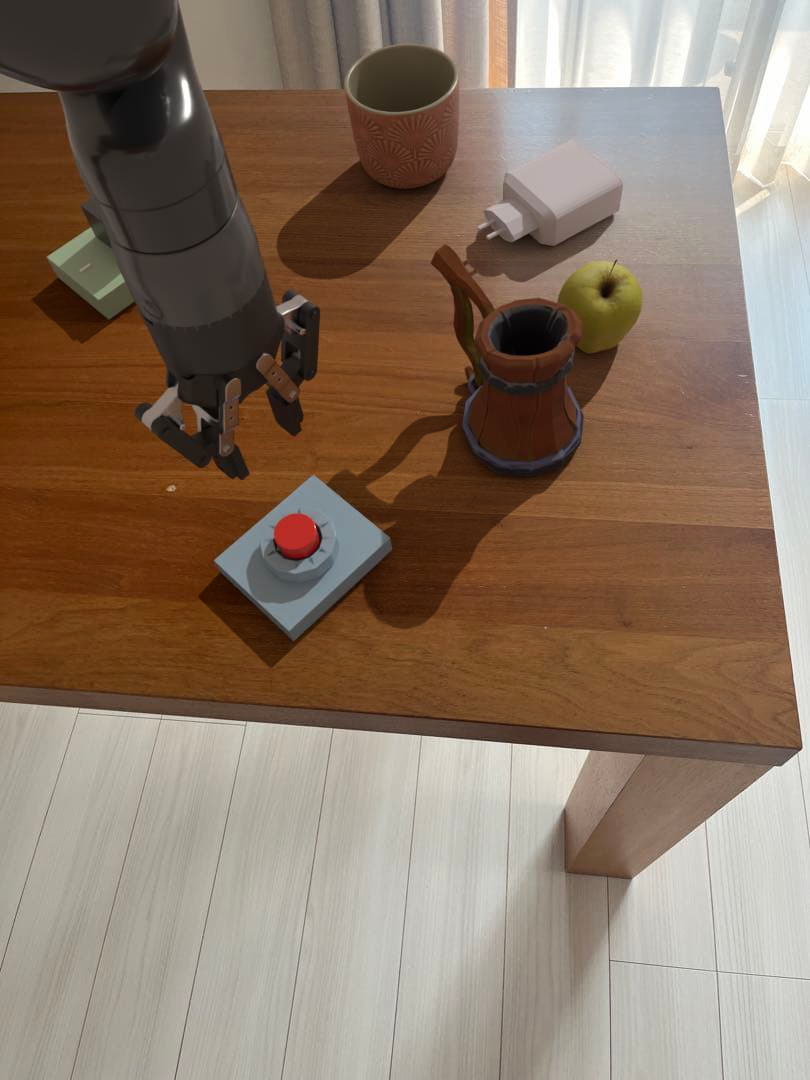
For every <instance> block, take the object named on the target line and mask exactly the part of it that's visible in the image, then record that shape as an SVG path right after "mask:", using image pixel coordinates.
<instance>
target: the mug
mask: <svg viewBox="0 0 810 1080" xmlns="http://www.w3.org/2000/svg"><path fill="white" fill-rule="evenodd" d="M430 264H431V265H432V266H433V267H434V268H435V269H436V270H437V271H438V272H439V273H440V274H441V275H442V277H443V278H444V279H445V280H446V282H447V283H448V284H449V287H450V291H451V294H452V298H453V307H454V311H453V323H452V326H453V330H454V334H455V337H456V340H457V342H458V343H459V346H460V347H461V349H462V350H463V352H464V353H465V355H466V357H467V358H468V360H469V361H470V364H471V366H470V365H467V366H465V367H464V373H465V377H466V380H467V381H468V382H467V389H468V391H469V393H470V394H471V395H470V397H468V398H467V399H466V400H465V403H464V409H463V416H462V417H463V418H462V424H461V425H462V428H461V429H462V434H463V436H464V438H465V440H466V443H467V444H468V446H469V448H470V450H471V452H472V454H473V456H474V457H475V458H476V460H478V461H479V462H480V463H482V464H483V465H485V466H486V467H487V468H489V469H491V470H492V471H494V472H495V473H496V474H497V475H499V476H509V477H519V478H520V477H521V478H532V477H533V478H534V477H536V476H540V475H544V474H547V473H550V472H554V471H557V470H561V469H563V467H564V465H565V464H566V463H567V462H568V461H569V459H571V457H572V456H573V454H574V453H575V452H576V451H577V449H578V448H579V447H580V446H581V444H582V438H583V437H582V436H583V426H584V415H585V414H584V412H583V411H582V409H581V407H580V405H579V403H578V401H577V399H576V397H575V395H574V393H573V392H572V389H571V387H570V386H568V376H567V375H568V373H570V371H571V370H572V369H573V365H574V359H575V358H574V357H575V352H576V351H575V350H576V347H577V344H578V342H579V341H580V339H581V337H582V329H583V323H582V321H581V320H580V318H579V317H578V315H577V314H576V312H575V311H573V310H571V309H569V308H568V305H564V304H560V303H557V301H553V300H549V299H545V298H542V297H535V298H533V297H532V298H525V299H524V298H523V299H517V300H516V299H515V300H514V301H511V302H508V303H505V304H502V305H500V306H498V307H497V308H495V307H494V305H493V304H492V302H491V301H490V299H489V298H488V296H487V295H486V293H485V291H484V290H483V288H481V286H480V285H479V284H478V282H476V281H475V279H474V277H473V276H472V275H471V273H470V272H469V270H468V268H467V267H466V265H465V264H464V262H463V261H462V259H461V257H460V256H459V255H458V254H457V253H456V250H454V249H453V248H452V247H451V246H449V245H447V244H443V245H442V246H440V247H439V248H438V249H436V250H435V251H434V254H433V256H432V259H431V261H430ZM471 301H472V302H471ZM472 303H473V304H474V305H475V306H476V307H477V309H478V311H479V313H480V316H481V318H482V320H481V321H480V322H479V324H478V328H477V330H476V334H475V333H474V330H475V319H474V310H473V305H472ZM474 334H475V335H474Z"/></svg>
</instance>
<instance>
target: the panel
mask: <svg viewBox="0 0 810 1080" xmlns="http://www.w3.org/2000/svg"><path fill="white" fill-rule="evenodd" d="M46 260H47V261H48V263H49V265H50V266H51V268H52V270H53V272H54V274H55V275H56V277H57V278H58V279H59V280H60V281H62V283H64V284H65V285H66V286H68V287H69V288H70V289H71V290H72V291H73V292H75V293H76V294H77V295H78V296H79V297H81V299H83V300H84V301H86V303H88V304H89V305H90V306H92V307H93V308H94V309H95V310H96V311H97V312H99V313H100V314H101V315H102V316H103V317H105V318H106V319H107V320H111V319H112V318H114V317H115V316H117V315H118V314H119V313H120V312H122V311H123V310H125V309H127V308H128V307H129V306H130V305H131V304H133V303H135V301H134V299H133V297H132V295H131V293H130V291H129V289H128V287H127V285H126V283H125V280H124V278H123V276H122V274H121V272H120V270H119V267H118V265H117V262H116V259H115V256H114V253H113V249H111V248H110V247H109V246H108V245H106V244H105V243H104V242H102V241H101V240H100V239H99V238H97V237H96V236H95V234H94V232H93V230H92V228H91V226H90V227H89V228H88V229H86V230H84V231H83V232H81V233H80V234H78V235H77V236H75V237H74V238H72V239H71V240H69V241H68V242H66V243H65V244H63V245H62V246H61V247H59V248H58V249H56V250H55V251H53V252H52V253H50V254H49V255H47V256H46Z"/></svg>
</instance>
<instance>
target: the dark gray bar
mask: <svg viewBox="0 0 810 1080" xmlns="http://www.w3.org/2000/svg"><path fill="white" fill-rule="evenodd" d="M80 208H81V209H82V212H83V214H84V216H85V218H86V220H87V222H88V224H89V226H90V227H91V228H92V230H93V232H94V234H95V236H96V237H97V238H99V239H100V240H101V241H102V242H104V243H105V244H106V245H108V246H109V247H110V248H111V249H112V246H111V242H110V239H109V236H108V234H107V231H106V229H105V227H104V225H103V223H102V221H101V219H100V217H99V214H98V212H97V210H96V208H95V206H94V204H93V202H92V200H91V198H90V199H88V200H86V201H85V202H83V203H82V204H81V205H80Z"/></svg>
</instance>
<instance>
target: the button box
mask: <svg viewBox="0 0 810 1080" xmlns="http://www.w3.org/2000/svg"><path fill="white" fill-rule="evenodd" d="M295 513H300V514H304V515H307V516H308V517H310V518H311V519H312V520H313V521H314V523H315V526H316V529H317V532H318V535H319V544H318V546H317V548H316V550H315V551H314V552H313V553H312V554H311V555H309V556H308V557H306V558H303V559H290V558H288V557H286V556H284V555H283V554H282V553H281V552H280V550H279V548H278V546H277V543H276V541H275V538H274V530H275V527H276V525H277V523H278V522H279V521H280V520H281V519H282V518H283V517H285V516H287V515H290V514H295ZM391 541H392V540H391V537H390V536H389V535H387V534H386V533H385V532H384V531H382V530H381V529H380V528H379V527H377V526H376V524H374V523H373V522H371V520H369V519H368V518H367V517H365V516H364V515H363V514H362V513H361V512H359V511H358V510H357V509H356V508H355V507H353V506H352V505H351V504H350V503H348V502H347V501H346V500H345V499H343V498H342V497H341V496H340V495H339V494H338V493H336V492H335V491H334V490H333V489H332V488H331V487H329V486H328V485H327V484H325V483H324V482H323V481H322V480H321V479H319V478H318V477H317V476H315V474H312V475H311V476H310V477H309V478H308V479H306V480H305V481H304V482H303V483H302V484H300V485H299V486H298V487H297V488H296V489H295V490H294V491H292V492H291V493H290V494H289V495H288V496H287V497H285V498H284V499H283V500H282V501H281V502H280V503H278V505H276V506H275V507H274V508H273V509H272V510H270V511H269V512H268V513H267V514H266V515H264V516H263V517H262V519H260V520H259V521H257V523H256V524H254V525H253V526H252V527H250V529H248V530H247V531H246V532H245V533H244V534H242V535H241V536H240V537H239V538H238V539H237V540H236V541H235V542H233V543H232V544H231V545H230V546H229V547H228V548H226V549H225V550H224V551H223V552H222V553H220V554H219V555H217V557H216V558H215V559H213V562H214V564H215V566H216V567H217V570H218V571H219V572H220V573H221V574H222V576H224V577H225V579H227V580H228V581H229V582H230V583H232V585H233V586H234V587H235V588H236V589H237V590H239V591H240V592H241V594H243V595H244V596H245V597H246V598H247V599H248V600H249V601H250V602H251V603H252V604H253V605H254V606H255V607H256V608H257V609H259V610H260V612H262V614H264V615H265V616H266V617H267V618H268V619H269V620H270V621H271V622H272V623H274V624H275V626H277V627H278V628H279V629H280V630H281V631H282V632H283V633H284V634H285V635H286V636H287V637H288V638H289V639H290V640H291V641H292V642H295V641H296V640H297V639H298V638H299V637H300V636H301V635H303V634H304V633H305V631H307V630H309V628H310V627H311V626H312V625H313V624H315V623H316V622H317V620H318V619H320V617H322V616H323V615H324V614H325V613H326V612H328V610H330V609H331V608H332V607H333V606H334V605H335V604H336V602H338V601H339V600H340V599H341V598H342V597H343V596H344V595H345V594H347V593H348V592H349V591H350V590H351V589H352V588H353V587H354V586H355V585H356V584H357V583H358V582H360V580H362V579H363V578H364V577H365V576H366V575H367V574H368V573H370V572H371V571H372V570H373V568H375V566H376V565H378V564H379V563H380V562H381V561H382V560H384V558H385V557H387V555H388V554H389V553H391V552H392V551H393V546H392V542H391Z"/></svg>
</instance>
